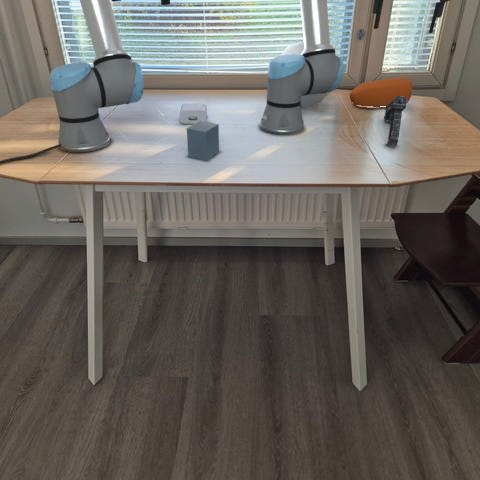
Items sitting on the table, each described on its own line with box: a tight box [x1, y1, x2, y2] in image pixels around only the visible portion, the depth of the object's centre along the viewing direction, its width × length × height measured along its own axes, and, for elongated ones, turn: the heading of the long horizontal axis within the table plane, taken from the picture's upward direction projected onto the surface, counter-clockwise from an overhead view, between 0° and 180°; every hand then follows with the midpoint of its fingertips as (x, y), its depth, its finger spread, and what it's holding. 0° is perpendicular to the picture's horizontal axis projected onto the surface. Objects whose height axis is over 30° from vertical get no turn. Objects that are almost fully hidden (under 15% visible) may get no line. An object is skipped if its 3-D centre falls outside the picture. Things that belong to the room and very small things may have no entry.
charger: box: [179, 102, 208, 125], centre depth 151 cm, size 5×9×15 cm
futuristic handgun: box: [383, 96, 408, 147], centre depth 138 cm, size 4×29×15 cm, turn 164°
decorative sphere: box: [279, 40, 331, 109], centre depth 160 cm, size 24×25×25 cm
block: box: [186, 121, 220, 162], centre depth 121 cm, size 6×8×9 cm
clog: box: [349, 77, 413, 110], centre depth 164 cm, size 12×11×25 cm
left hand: (140, 2), depth 95 cm, fingers open, 13 cm apart
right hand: (402, 30), depth 105 cm, fingers open, 13 cm apart
